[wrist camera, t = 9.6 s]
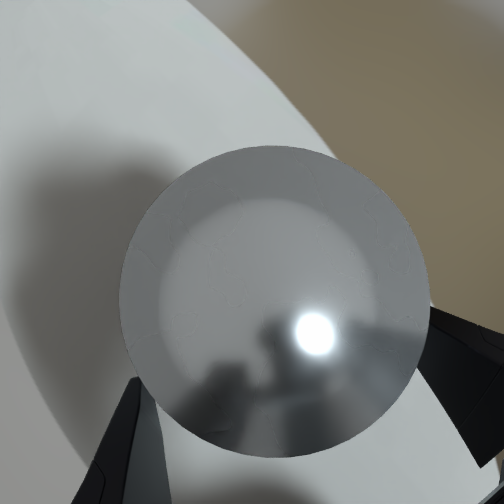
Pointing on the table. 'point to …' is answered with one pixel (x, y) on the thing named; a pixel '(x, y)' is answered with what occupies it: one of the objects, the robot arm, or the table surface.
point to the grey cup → (274, 301)
